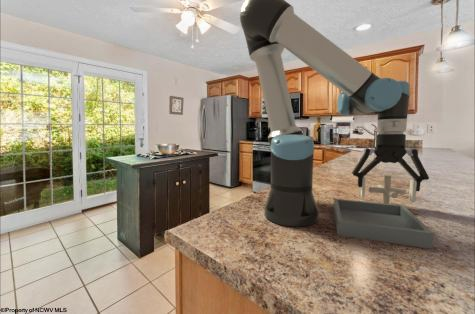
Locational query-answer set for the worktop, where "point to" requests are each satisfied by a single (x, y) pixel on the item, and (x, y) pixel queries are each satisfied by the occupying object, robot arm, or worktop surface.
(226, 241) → the worktop surface
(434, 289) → the worktop surface
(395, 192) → the pipe connector
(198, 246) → the worktop surface
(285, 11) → the robot arm
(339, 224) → the tray
